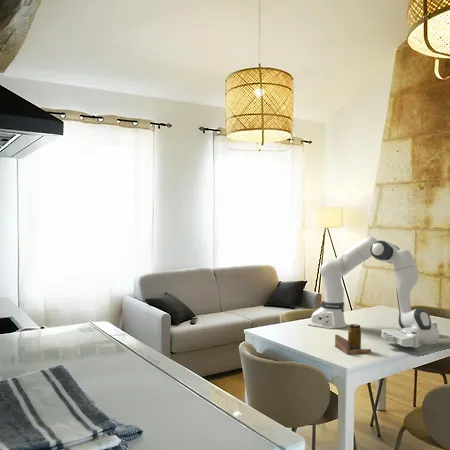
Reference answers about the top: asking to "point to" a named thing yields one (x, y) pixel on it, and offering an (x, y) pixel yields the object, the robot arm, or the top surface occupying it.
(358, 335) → the condiment
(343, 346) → the corral
